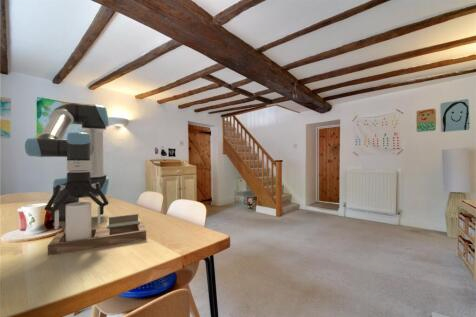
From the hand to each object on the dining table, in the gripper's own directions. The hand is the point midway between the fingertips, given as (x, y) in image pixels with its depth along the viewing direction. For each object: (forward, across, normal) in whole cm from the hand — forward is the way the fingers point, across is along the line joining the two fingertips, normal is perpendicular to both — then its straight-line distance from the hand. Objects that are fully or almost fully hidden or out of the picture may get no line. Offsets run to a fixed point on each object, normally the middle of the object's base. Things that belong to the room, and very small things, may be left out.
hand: (78, 225), depth 86 cm
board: (+7, +8, +7) cm, 13 cm away
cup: (+8, 0, 0) cm, 8 cm away
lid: (+4, +16, +12) cm, 20 cm away
